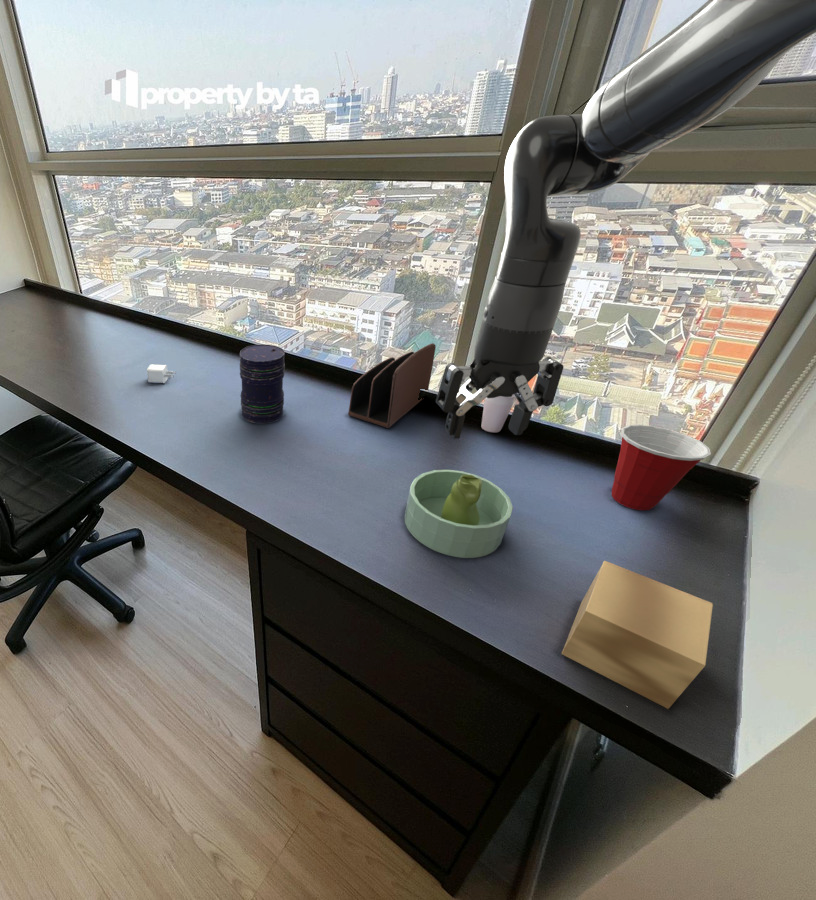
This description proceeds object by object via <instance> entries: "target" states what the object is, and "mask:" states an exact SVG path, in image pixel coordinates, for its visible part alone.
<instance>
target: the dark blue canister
mask: <svg viewBox="0 0 816 900" xmlns="http://www.w3.org/2000/svg"><path fill="white" fill-rule="evenodd" d="M285 365H286V363H285V350H284V348H282V347H280V346H277V345H273V344H266V343H265V344H254V345H248V346H246V347H244V348H242V349H241V350H240V352H239V377H240V379H241V391H240V406H241V416H242V419H244V420H245V421H247V422H248V423H249V422H250V423H253V424H262V425H263V424H264V425H265V424H270V423H274V422H276V421H279V420H280V419H282V417H283V415H284V405H285V398H284V397H285V391H284V388H283V387H284V386H283V385H284V377H285V373H286V372H285V370H286V369H285V368H286V366H285Z"/></svg>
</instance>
